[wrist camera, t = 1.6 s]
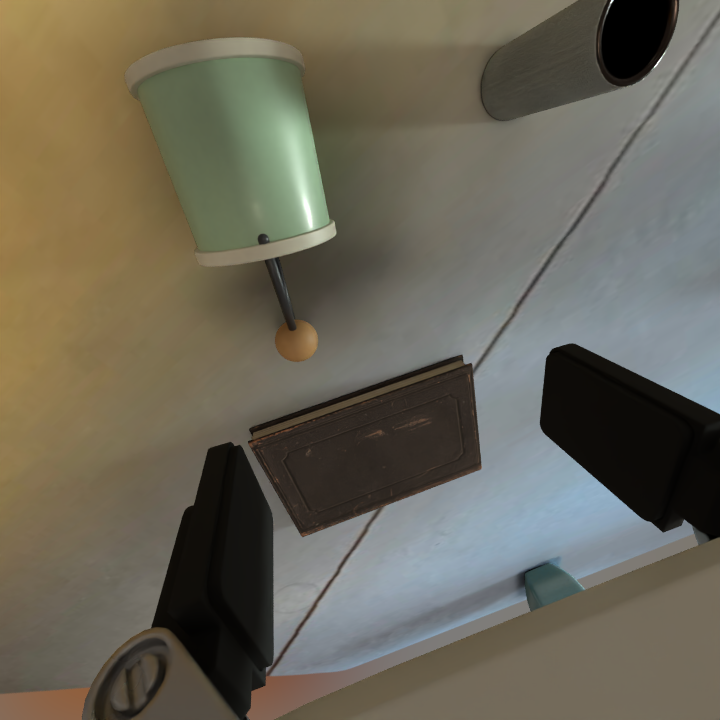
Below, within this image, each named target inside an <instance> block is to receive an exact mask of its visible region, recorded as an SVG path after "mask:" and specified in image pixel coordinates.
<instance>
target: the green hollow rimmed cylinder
mask: <svg viewBox="0 0 720 720" xmlns="http://www.w3.org/2000/svg"><path fill="white" fill-rule="evenodd" d="M304 74H305V65H304V59H303V56H302V54H301V52H300V51H299V50H298V49H297V48H295V47H294V46H291V45H289V44H287V43H283V42H280V41H275V40H270V39H262V38H248V37H231V38H216V39H207V40H200V41H194V42H188V43H183V44H179V45H175V46H171V47H168V48H164V49H161V50H158V51H156V52H153V53H151V54H148V55H146V56H144V57H142V58H140V59H139V60H137V61H135V62H134V63H133V64H131V65H130V66H129V67H128V69H127V70H126V72H125V81H126V84H127V86H128V89H129V91H130V93H131V95H132V96H133V97H134V98H135V99H137V100H139V101H140V102H141V104H142V107H143V109H144V112H145V114H146V117H147V119H148V122H149V125H150V127H151V130H152V132H153V135H154V137H155V140H156V142H157V145H158V148H159V150H160V153H161V155H162V158H163V160H164V163H165V165H166V168H167V170H168V173H169V176H170V178H171V181H172V183H173V186H174V188H175V191H176V193H177V196H178V198H179V201H180V204H181V206H182V209H183V211H184V214H185V216H186V219H187V221H188V224H189V226H190V229H191V232H192V234H193V237H194V239H195V242H196V244H197V247H198V248H196V249H195V250H194V254H195V256H196V259H197V261H198V263H199V264H200V265H202V266H208V267H219V266H231V265H239V264H245V263H251V262H257V261H262V260H265V263H266V266H267V269H268V272H269V274H270V277H271V280H272V283H273V286H274V289H275V292H276V294H277V297H278V300H279V303H280V306H281V309H282V312H283V315H284V317H285V320H286V323H284V324H283V325H281V327H280V328H279V329H278V331H277V333H276V337H275V344H276V348H277V350H278V352H279V353H280V354H281V355H282V356H283V357H284V358H285V359H287V360H289V361H294V362H300V361H304V360H306V359H308V358H310V357H311V356H312V355H313V354H314V352H315V351H316V349H317V345H318V336H317V333H316V331H315V329H314V328H313V327H312V326H311V325H310V324H309V323H307V322H305V321H303V320H295V316H294V313H293V309H292V305H291V301H290V297H289V294H288V290H287V286H286V282H285V278H284V275H283V271H282V267H281V263H280V260H279V257H280V256H284V255H288V254H292V253H295V252H299V251H302V250H305V249H308V248H311V247H314V246H317V245H319V244H322V243H324V242H326V241H328V240H330V239H332V238H333V237H334V236H335V235H336V227H335V222H334V221H333V220H330V219H329V216H328V211H327V205H326V200H325V195H324V190H323V185H322V180H321V175H320V170H319V165H318V160H317V155H316V150H315V145H314V139H313V134H312V129H311V124H310V119H309V114H308V109H307V104H306V99H305V94H304V89H303V84H302V79H301V78H302V77H303V76H304Z"/></svg>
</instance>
